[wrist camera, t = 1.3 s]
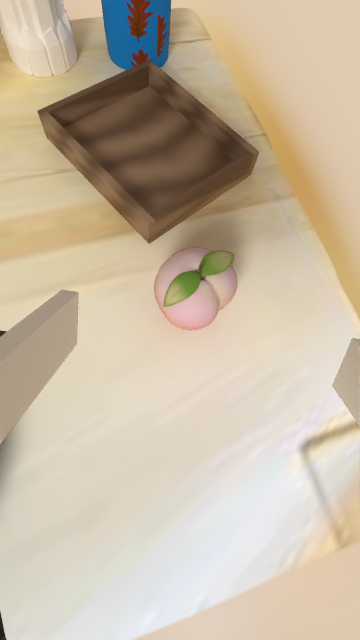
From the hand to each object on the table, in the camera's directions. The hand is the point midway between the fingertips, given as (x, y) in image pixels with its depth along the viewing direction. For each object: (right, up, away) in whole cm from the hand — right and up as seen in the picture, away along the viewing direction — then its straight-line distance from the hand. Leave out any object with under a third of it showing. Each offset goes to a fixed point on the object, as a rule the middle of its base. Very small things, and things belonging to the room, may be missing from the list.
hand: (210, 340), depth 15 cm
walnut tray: (-6, +26, +32) cm, 42 cm away
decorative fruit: (0, +3, +24) cm, 24 cm away
